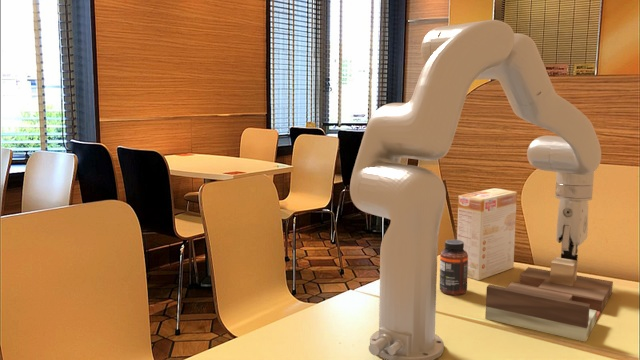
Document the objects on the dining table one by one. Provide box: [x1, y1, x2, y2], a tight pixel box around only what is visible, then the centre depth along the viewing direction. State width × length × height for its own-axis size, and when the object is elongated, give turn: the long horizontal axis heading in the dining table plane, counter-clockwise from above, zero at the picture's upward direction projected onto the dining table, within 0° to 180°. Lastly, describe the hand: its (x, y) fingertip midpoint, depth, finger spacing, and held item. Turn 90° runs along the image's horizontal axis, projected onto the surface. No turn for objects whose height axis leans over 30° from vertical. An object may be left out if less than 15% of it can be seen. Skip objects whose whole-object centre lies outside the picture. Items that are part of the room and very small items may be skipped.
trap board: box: [484, 266, 614, 343], centre depth 117 cm, size 30×18×6 cm, turn 145°
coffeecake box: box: [456, 187, 518, 281], centre depth 138 cm, size 15×7×20 cm, turn 130°
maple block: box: [549, 257, 579, 286], centre depth 124 cm, size 4×4×4 cm
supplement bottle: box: [439, 239, 468, 296], centre depth 125 cm, size 6×6×11 cm
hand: (568, 271), depth 128 cm, fingers closed
